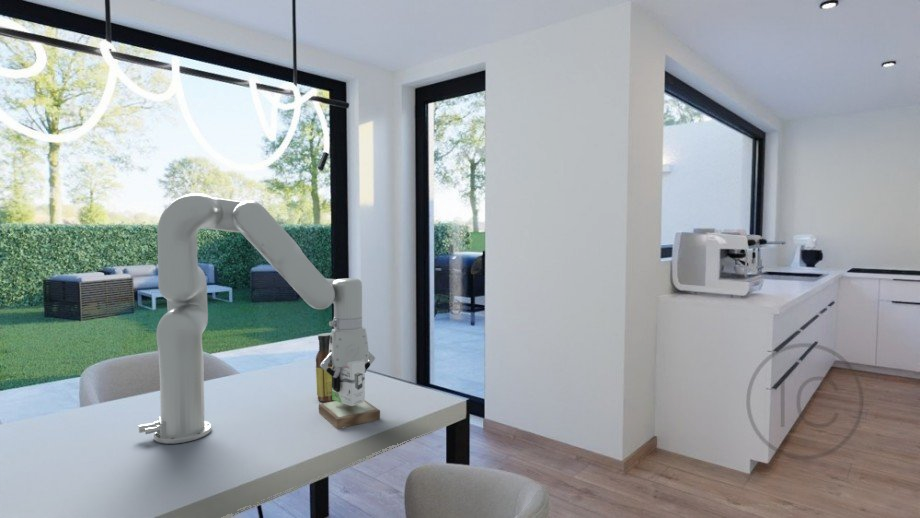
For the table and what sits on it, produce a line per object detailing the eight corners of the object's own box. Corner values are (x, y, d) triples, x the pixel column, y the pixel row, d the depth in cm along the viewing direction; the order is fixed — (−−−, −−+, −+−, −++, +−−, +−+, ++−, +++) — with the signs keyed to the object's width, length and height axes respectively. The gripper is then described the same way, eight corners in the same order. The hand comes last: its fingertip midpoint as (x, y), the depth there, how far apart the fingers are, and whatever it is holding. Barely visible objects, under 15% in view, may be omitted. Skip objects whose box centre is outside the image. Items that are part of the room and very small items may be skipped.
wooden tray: (337, 428, 129) (337, 418, 129) (318, 412, 141) (318, 403, 141) (379, 419, 136) (379, 409, 136) (359, 404, 148) (359, 395, 148)
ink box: (331, 400, 139) (331, 358, 138) (345, 395, 143) (345, 354, 142) (351, 406, 134) (351, 363, 133) (365, 402, 138) (365, 359, 137)
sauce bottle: (341, 396, 155) (340, 332, 154) (334, 403, 149) (333, 336, 148) (320, 395, 156) (320, 331, 155) (312, 402, 150) (312, 336, 149)
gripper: (321, 329, 129) (322, 398, 130) (383, 322, 139) (383, 387, 140) (312, 324, 136) (312, 390, 136) (371, 318, 145) (371, 380, 146)
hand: (348, 388), depth 138 cm, fingers closed on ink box, 6 cm apart
